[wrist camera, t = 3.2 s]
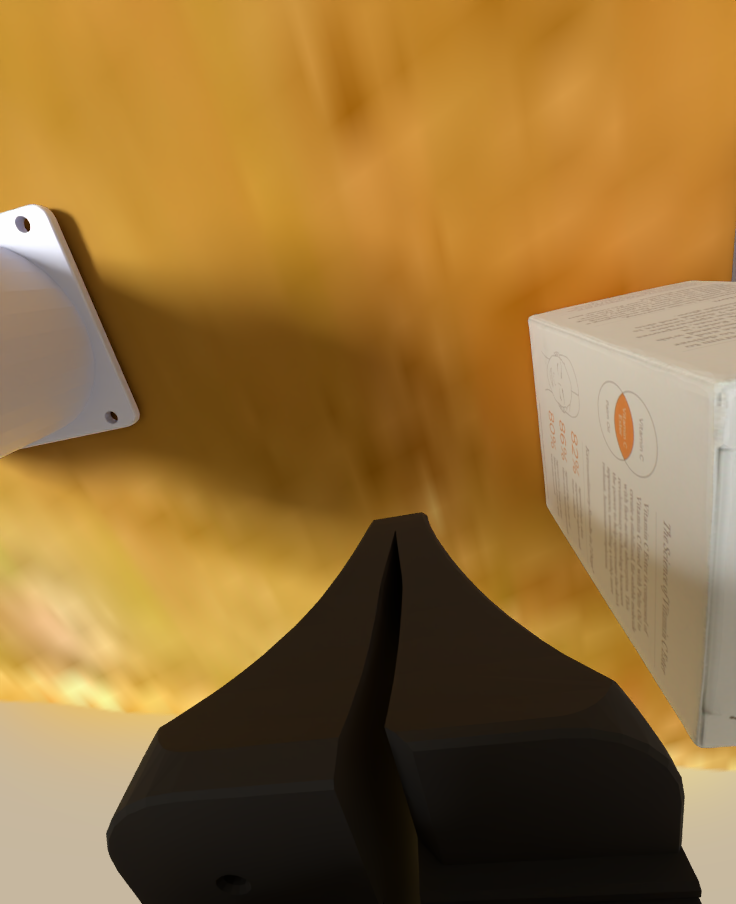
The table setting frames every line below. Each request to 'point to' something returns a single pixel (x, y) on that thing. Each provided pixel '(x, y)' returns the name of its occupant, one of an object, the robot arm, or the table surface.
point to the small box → (651, 477)
